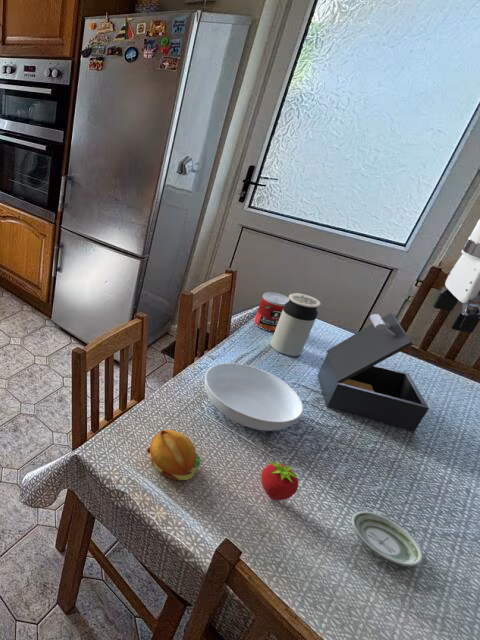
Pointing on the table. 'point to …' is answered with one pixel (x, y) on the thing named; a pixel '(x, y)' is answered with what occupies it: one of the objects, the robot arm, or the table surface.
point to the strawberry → (279, 481)
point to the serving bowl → (252, 396)
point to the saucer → (386, 539)
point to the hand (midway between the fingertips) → (451, 319)
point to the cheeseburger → (174, 455)
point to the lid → (368, 347)
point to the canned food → (270, 310)
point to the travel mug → (295, 324)
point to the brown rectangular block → (358, 384)
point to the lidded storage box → (375, 396)
